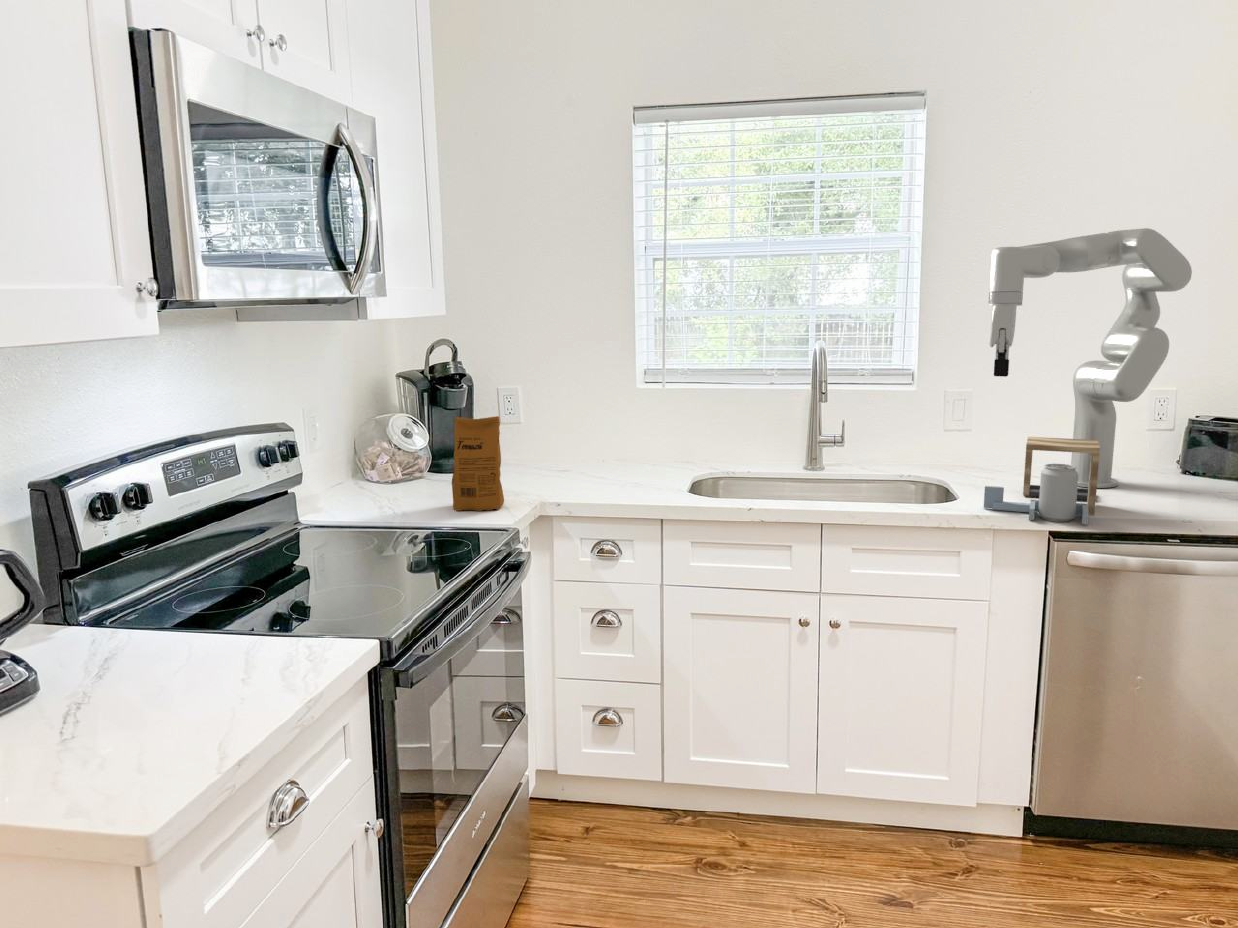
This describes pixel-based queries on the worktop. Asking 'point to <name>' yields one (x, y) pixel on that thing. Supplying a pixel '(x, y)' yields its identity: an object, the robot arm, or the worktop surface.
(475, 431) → the coffee package
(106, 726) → the worktop surface
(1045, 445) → the tunnel
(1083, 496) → the dark flat panel
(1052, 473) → the can
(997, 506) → the blue-grey forked pusher
